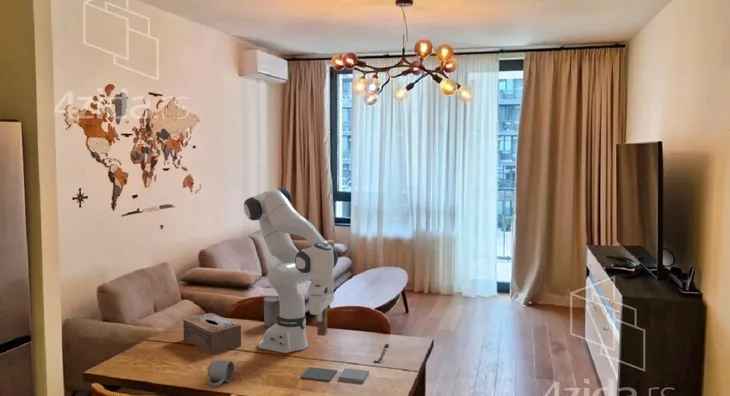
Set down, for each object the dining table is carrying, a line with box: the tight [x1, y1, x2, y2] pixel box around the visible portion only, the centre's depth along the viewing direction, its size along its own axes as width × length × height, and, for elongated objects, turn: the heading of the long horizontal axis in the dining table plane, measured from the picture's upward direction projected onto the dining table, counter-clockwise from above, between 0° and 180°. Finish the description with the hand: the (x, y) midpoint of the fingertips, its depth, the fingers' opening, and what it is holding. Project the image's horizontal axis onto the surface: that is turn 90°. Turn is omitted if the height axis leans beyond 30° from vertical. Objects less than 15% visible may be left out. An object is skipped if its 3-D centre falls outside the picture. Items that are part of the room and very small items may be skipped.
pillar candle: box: [263, 295, 280, 329], centre depth 286 cm, size 10×10×15 cm
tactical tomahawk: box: [373, 343, 390, 364], centre depth 248 cm, size 21×7×1 cm, turn 166°
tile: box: [337, 367, 370, 384], centre depth 224 cm, size 10×2×9 cm
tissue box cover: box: [182, 312, 242, 355], centre depth 260 cm, size 26×14×10 cm, turn 45°
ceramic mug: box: [207, 360, 235, 388], centre depth 219 cm, size 11×8×8 cm
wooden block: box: [316, 307, 328, 337], centre depth 224 cm, size 3×3×14 cm
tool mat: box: [300, 366, 338, 383], centre depth 226 cm, size 12×10×1 cm
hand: (322, 319), depth 224 cm, fingers closed on wooden block, 3 cm apart
